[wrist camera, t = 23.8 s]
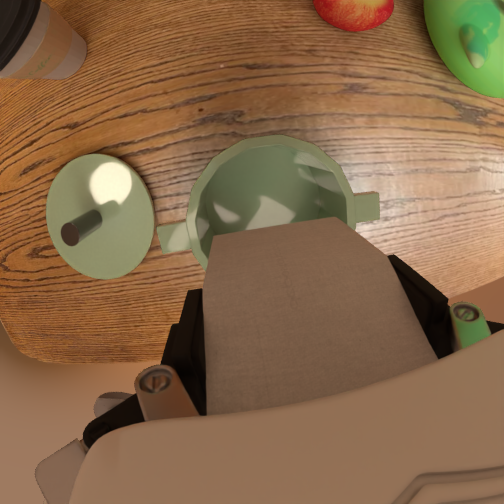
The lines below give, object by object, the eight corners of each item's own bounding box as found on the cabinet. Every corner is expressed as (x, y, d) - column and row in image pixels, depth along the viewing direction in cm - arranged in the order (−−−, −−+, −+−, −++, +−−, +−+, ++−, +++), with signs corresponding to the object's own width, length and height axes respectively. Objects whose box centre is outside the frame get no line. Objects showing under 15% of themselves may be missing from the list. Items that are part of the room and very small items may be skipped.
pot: (349, 247, 32) (381, 279, 24) (190, 274, 32) (178, 314, 24) (341, 131, 27) (377, 128, 19) (164, 156, 27) (138, 160, 19)
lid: (170, 265, 32) (156, 294, 25) (71, 281, 32) (46, 307, 25) (141, 137, 26) (117, 136, 20) (40, 174, 26) (6, 182, 20)
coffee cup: (54, 108, 24) (-35, 102, 10) (31, 63, 20) (-46, 45, 6) (113, 54, 22) (39, 7, 8) (84, 12, 19) (19, -33, 5)
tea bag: (213, 235, 15) (187, 374, 6) (335, 216, 15) (453, 313, 6) (226, 295, 16) (223, 449, 7) (337, 275, 16) (423, 400, 7)
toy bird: (489, 108, 26) (561, 113, 12) (410, 86, 25) (497, 70, 12) (468, 10, 19) (527, -7, 6) (384, -25, 19) (441, -70, 5)
